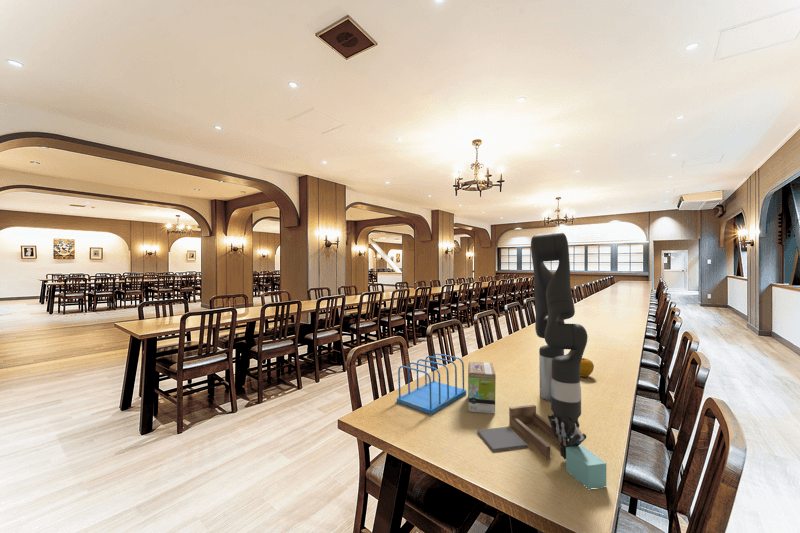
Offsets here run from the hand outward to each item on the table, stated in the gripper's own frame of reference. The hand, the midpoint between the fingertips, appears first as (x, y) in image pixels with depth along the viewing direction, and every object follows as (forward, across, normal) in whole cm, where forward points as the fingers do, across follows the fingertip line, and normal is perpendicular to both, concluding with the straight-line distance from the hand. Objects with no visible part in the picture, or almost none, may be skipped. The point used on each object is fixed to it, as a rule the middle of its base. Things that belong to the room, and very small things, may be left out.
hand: (565, 457), depth 90 cm
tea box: (+1, +39, +7) cm, 39 cm away
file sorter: (+2, +49, +24) cm, 54 cm away
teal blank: (+1, -7, 0) cm, 7 cm away
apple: (+2, +58, -55) cm, 80 cm away
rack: (+1, +12, 0) cm, 12 cm away
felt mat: (+1, +14, +12) cm, 18 cm away
